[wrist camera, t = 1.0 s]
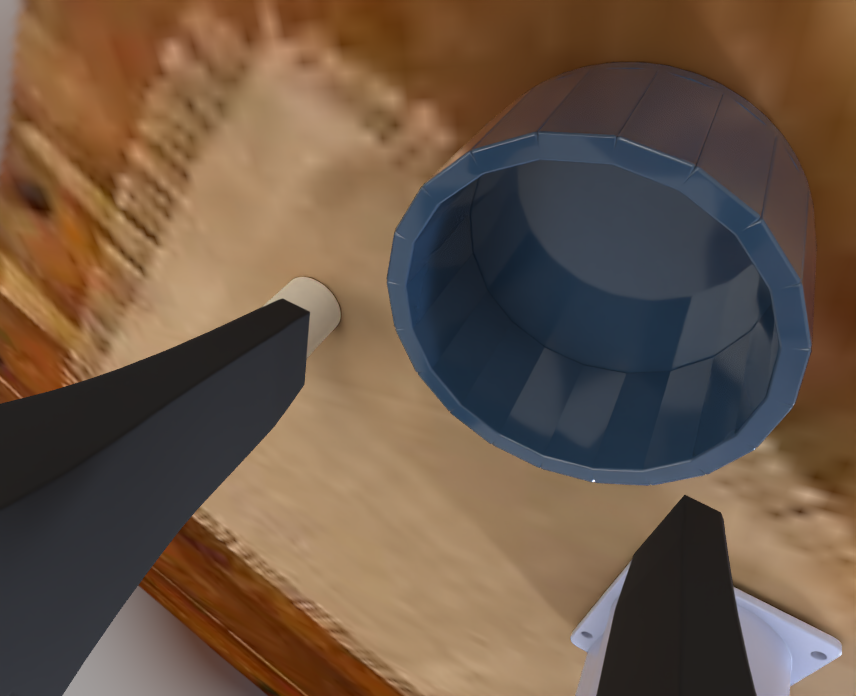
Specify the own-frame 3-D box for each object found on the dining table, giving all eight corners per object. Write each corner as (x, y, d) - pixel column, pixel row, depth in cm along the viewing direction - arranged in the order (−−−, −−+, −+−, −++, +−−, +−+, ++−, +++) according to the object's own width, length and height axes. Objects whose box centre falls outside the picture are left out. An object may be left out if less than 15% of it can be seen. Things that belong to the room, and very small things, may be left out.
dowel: (339, 340, 28) (205, 489, 22) (285, 314, 28) (140, 452, 22) (344, 292, 26) (199, 440, 20) (286, 264, 26) (128, 401, 20)
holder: (703, 419, 22) (678, 537, 18) (436, 298, 24) (367, 384, 20) (909, 146, 15) (931, 254, 11) (506, 6, 17) (421, 62, 13)
